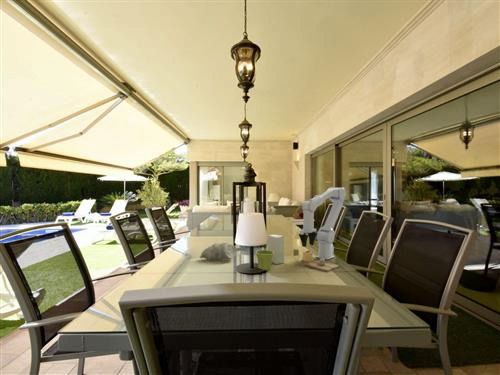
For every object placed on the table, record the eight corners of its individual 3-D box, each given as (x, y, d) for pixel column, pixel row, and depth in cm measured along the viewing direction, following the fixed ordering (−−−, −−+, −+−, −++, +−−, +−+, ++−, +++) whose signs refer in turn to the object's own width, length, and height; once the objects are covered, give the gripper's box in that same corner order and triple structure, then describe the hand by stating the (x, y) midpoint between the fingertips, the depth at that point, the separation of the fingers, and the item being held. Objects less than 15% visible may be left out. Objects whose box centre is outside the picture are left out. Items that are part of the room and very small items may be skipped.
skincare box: (284, 263, 155) (285, 236, 155) (275, 264, 152) (276, 237, 152) (274, 259, 162) (275, 233, 162) (266, 260, 159) (267, 234, 159)
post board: (316, 261, 160) (316, 254, 160) (339, 267, 150) (339, 259, 150) (303, 266, 151) (303, 258, 151) (327, 272, 141) (327, 264, 141)
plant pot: (268, 273, 137) (268, 255, 137) (251, 269, 142) (252, 252, 142) (276, 268, 144) (277, 251, 144) (260, 265, 149) (261, 249, 149)
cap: (306, 258, 166) (306, 249, 166) (314, 260, 163) (314, 251, 163) (300, 260, 162) (301, 250, 162) (308, 262, 159) (309, 252, 159)
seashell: (198, 261, 155) (198, 243, 155) (213, 255, 168) (214, 239, 168) (223, 265, 147) (223, 246, 147) (237, 259, 160) (237, 242, 160)
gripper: (309, 220, 170) (308, 243, 170) (295, 222, 160) (294, 246, 160) (319, 221, 165) (319, 244, 166) (306, 223, 155) (305, 248, 155)
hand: (307, 245), depth 162 cm, fingers open, 7 cm apart
